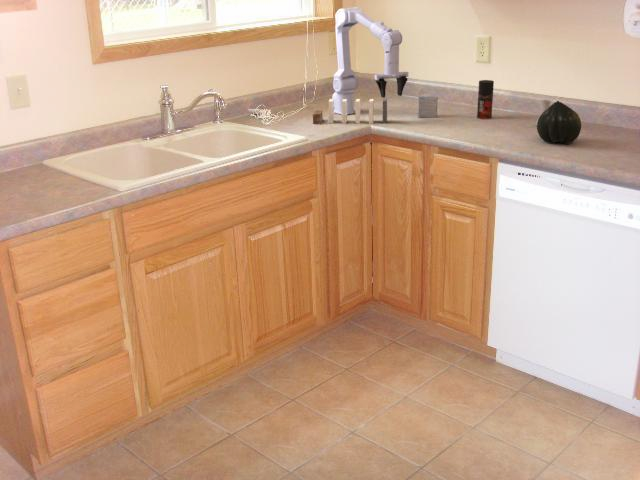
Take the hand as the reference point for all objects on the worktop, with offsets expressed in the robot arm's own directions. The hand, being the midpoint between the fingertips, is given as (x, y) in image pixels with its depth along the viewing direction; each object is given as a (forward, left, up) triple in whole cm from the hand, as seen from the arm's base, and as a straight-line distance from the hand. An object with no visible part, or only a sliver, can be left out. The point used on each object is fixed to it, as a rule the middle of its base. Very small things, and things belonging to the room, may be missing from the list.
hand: (391, 96), depth 301 cm
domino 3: (-10, -10, -11) cm, 17 cm away
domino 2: (-14, -14, -11) cm, 22 cm away
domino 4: (-6, -6, -11) cm, 13 cm away
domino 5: (-2, -2, -11) cm, 11 cm away
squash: (+65, +21, -11) cm, 69 cm away
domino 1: (-18, -17, -11) cm, 27 cm away
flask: (+47, +38, -11) cm, 61 cm away
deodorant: (+21, +33, -11) cm, 41 cm away
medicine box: (+3, +18, -11) cm, 21 cm away
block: (-22, -21, -11) cm, 32 cm away
